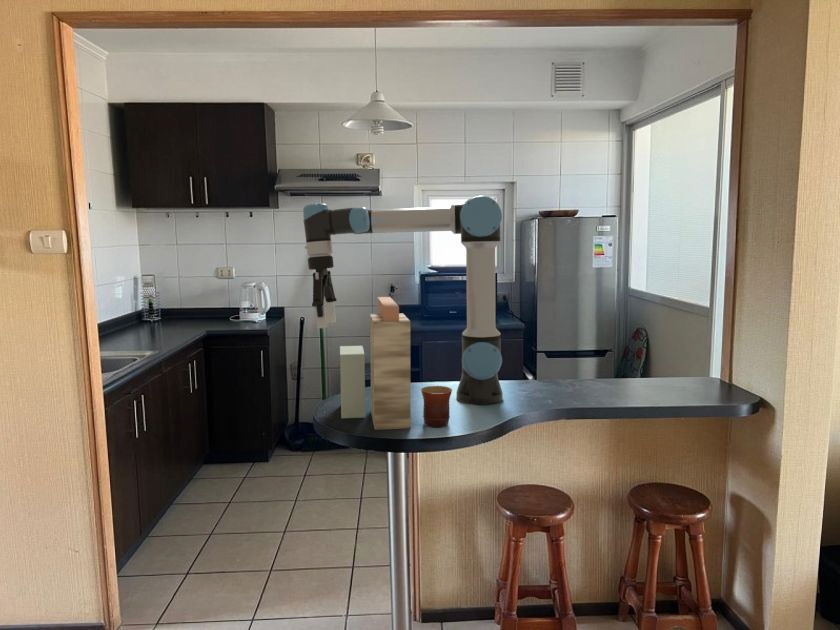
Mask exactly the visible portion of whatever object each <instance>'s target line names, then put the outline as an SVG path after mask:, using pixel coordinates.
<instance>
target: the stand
mask: <svg viewBox="0 0 840 630" xmlns="http://www.w3.org/2000/svg"><path fill="white" fill-rule="evenodd" d="M369 329H370V331H369V335H370V336H369V340H370V341H369V344H370V345H369V346H370V348H369V349H370V351H369V353H370V357H369V358H370V362H369V363H370V364H369V365H370V413H371V414H370V415H371V418H372V424H373V428H374V429H373V430H374V431H375V430H378V431H379V430H397V429H398V430H399V429H400V430H401V429H403V430H404V429H411V414H412V413H411V412H412V411H411V320H410V319H409V318H408V317H407V316H406V315H405V314H404V313H400V312H399V321H384V320H383V318H382V316H381V315H380V313H370V314H369Z"/></svg>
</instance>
